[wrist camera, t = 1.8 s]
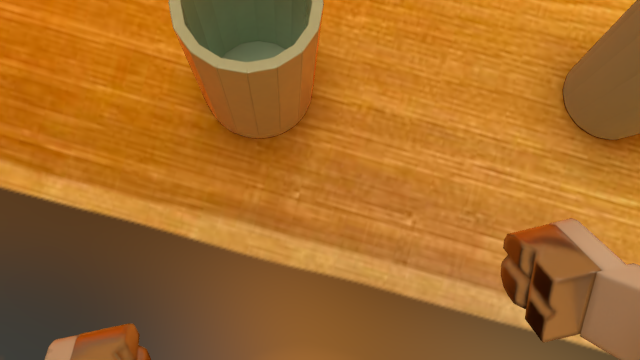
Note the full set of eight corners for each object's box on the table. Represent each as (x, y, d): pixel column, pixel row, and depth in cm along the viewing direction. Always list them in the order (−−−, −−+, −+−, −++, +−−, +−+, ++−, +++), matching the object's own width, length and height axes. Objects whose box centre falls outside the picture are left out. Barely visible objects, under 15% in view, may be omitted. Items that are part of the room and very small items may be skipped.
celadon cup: (215, 148, 28) (183, 85, 20) (196, 49, 30) (158, -53, 21) (323, 126, 29) (337, 56, 20) (299, 31, 30) (304, -75, 21)
